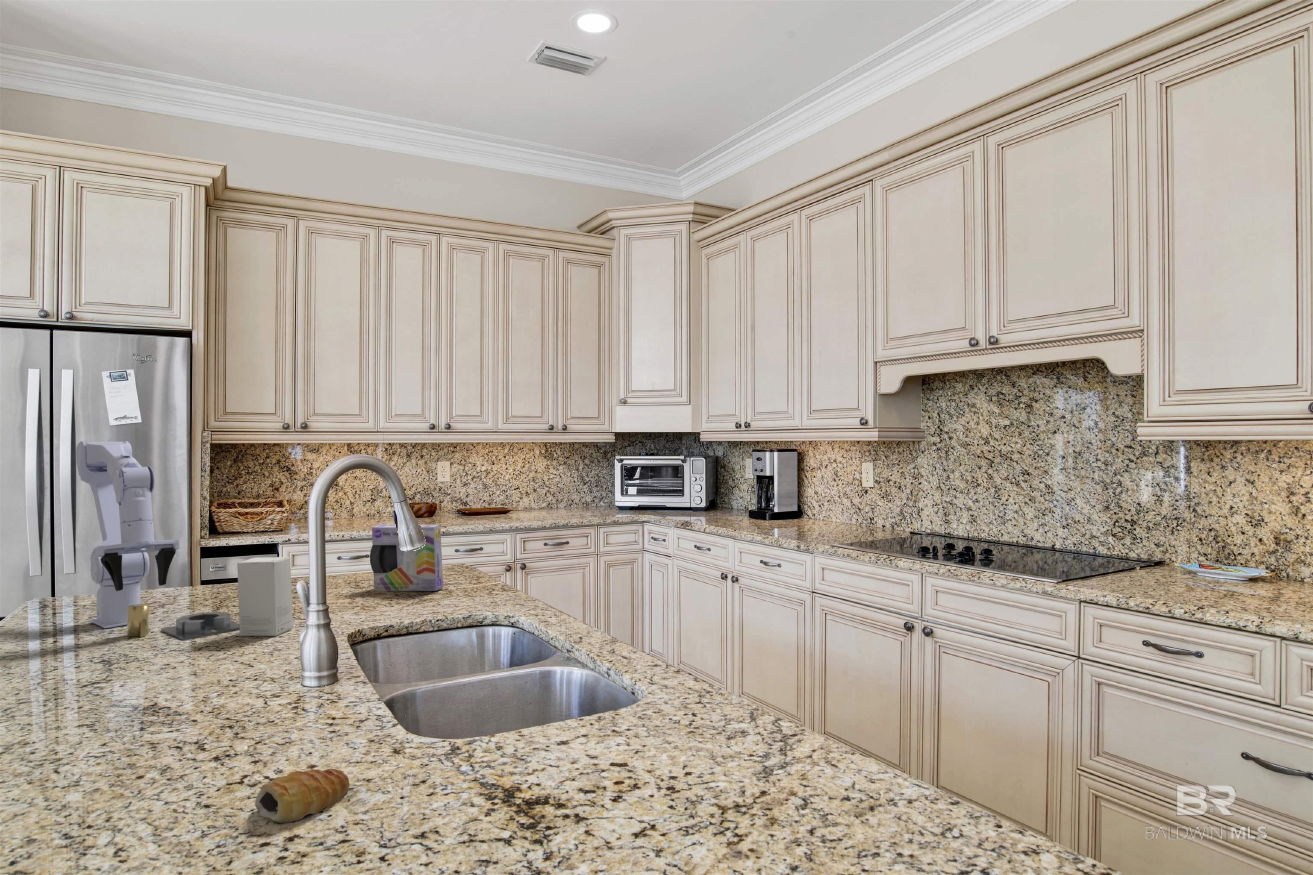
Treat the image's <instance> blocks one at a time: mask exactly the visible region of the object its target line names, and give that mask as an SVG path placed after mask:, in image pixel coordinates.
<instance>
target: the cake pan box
mask: <svg viewBox="0 0 1313 875" xmlns="http://www.w3.org/2000/svg"><path fill="white" fill-rule="evenodd" d="M419 525H420V526H421V529H422V530H423V533H424V536H425V539H426V544H425V546H424V547H423V548H421V549H419V550H416V551H407V552H405V551H401V550H400V548H399V541H398V533H397V528H396V524H389V523H388V524H377V525H375V526H372V528H371V535H372V536H371V537H372V538H371V539H372V540H371V541H372V542H371V543H372V544H371V547H370V552H369V564H370V567H371V570H372V572H373V591H387V592H388V591H392V592H396V591H398V592H401V591H402V592H436V591H439V590H442V589H443V588H444V580H443V575H444V574H443V557H442V555H443V554H442V536H441V534H442V532H441V531H442V530H441V528H442V526H441V524H419Z"/></svg>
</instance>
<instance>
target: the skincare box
mask: <svg viewBox="0 0 1313 875" xmlns="http://www.w3.org/2000/svg"><path fill="white" fill-rule="evenodd" d="M291 563H292V562H291V556H282V557H281V556H277V557H275V556H274V557H273V556H272V557H271V556H270V557H269V556H268V557H266V556H265V557H251V558H249V559H247V560H246V559H245V560H243V561H239V562H237V567H236V568H237V592H238V593H237V594H238V617H239V618H238V620H239V623H238V624H240V630H239V636H240V637H276V636H279V635H282V634H284V633H286V632H288V631H290V630H292V629H293V628H294V627H293V625H294V624H293V622H294V621H293V598H292V596H293V595H292V592H293V591H292V569H291V568H292V567H291Z"/></svg>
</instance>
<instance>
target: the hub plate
mask: <svg viewBox="0 0 1313 875" xmlns="http://www.w3.org/2000/svg"><path fill="white" fill-rule="evenodd" d="M162 631H163V633H165V634H167V633H168V634H167V635H169V634H170V635H169V636H172V637H174V636H175V637H174V638H176V637H177V638H176V639H179V640H181V639H182V640H181V641H187V640H186V639H188V640H192V638H193V639H198V638H197V637H199V638H203V637H202V636H204V637H208V635H209V636H213V635H212V634H214V635H219V634H223V633H230V632H235V631H240V624H239V623H238V622H235V621H231V613H228V612H225V611H208V612H207V611H206V612H200V613H199V612H197V613H192V614H187V615H183V616H181V617H179V618H177V619H176V621H175V625H174V626H168V627H162V628H160V632H162ZM218 633H219V634H218Z"/></svg>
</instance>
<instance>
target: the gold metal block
mask: <svg viewBox="0 0 1313 875" xmlns="http://www.w3.org/2000/svg"><path fill="white" fill-rule="evenodd" d="M149 611H150V606H149V604H148V603H140V604H136V605H130V606H128V625H127V637H128V636H137V637H139V636H140V637H139V638H143V637H142V636H146V637H147V635H149V634H148V633H149V632H150V630H149V629H150V628H149V627H150V626H149V624H150V622H149V620H150V619H149V616H150V615H149V614H150V612H149ZM146 634H147V635H146Z"/></svg>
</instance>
